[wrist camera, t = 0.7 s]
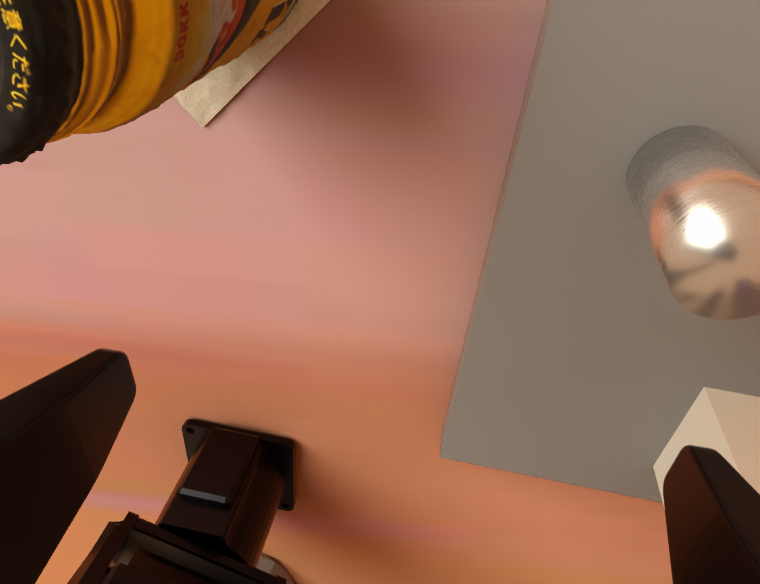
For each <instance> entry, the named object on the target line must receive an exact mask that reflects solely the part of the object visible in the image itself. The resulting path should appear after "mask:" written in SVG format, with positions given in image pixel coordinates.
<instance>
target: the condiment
mask: <svg viewBox="0 0 760 584" xmlns="http://www.w3.org/2000/svg"><path fill="white" fill-rule="evenodd" d="M329 1H330V0H0V165H1V164H10V163H13V162H15V161H18V162H23V161H25V160H26V159H27V157H28V156H29V155H30V154H32V153H35V151H43V148H44V146H45V144H46V143H50V142H54V141H57V140H60V139H63V138H66V137H68V136H70V135H72V134H89V133H99V132H105V131H109V130H111V129H114V128H116V127H118V126H121V125H125V124H127V123H129V122H132V121H134V120H136V119H137V118H139V117H140V116H142V115H144V114H146V113H148V112H149V111H151V110H154V109H156V108H158V107H159V106H160V105H161V104H162V103H164V102H165V101H167V100H168V99H169V98H171V97H173V96H174V97H175V98H176V99H177V100H178V101H179V103H180V104H181V106H182V107H183V108H184V109H185V110H186V111H187V112H188V113H189V114H190V115H191V116H192V117H193V118H194V119H195V120H196V121H197V122H198V123H199V124H200V125H201V127H202V128H203V127H204V126H205V125H206V124H207V123H208V122H209V121H210V120H211V119H212V118H213V117H214V116H215V115H216V114H217V113H218V112H219V111H220V110H221V109H222V108H223V107H224V106H225V105H226V104H227V103H228V102H229V101H230V100H231V99H232V98H233V97H234V96H235V95H236V94H237V93H238V92H239V91H240V90H241V89H242V87H243V86H245V85H246V84H247V83H248V82H249V81H250V80H251V79H252V78H253V77H254V76H255V75H256V74H257V73H258V72H259V71H260V70H261V69H262V68H263V67H264V66H265V65H266V64H267V63H268V62H269V61H270V60H271V59H272V58H273V57H274V56H275V55H276V54H277V53H278V52H279V51H280V50H281V49H282V48H283V47H284V46H285V45H286V44H287V43H288V42H289V41H290V40H291V39H292V38H293V37H294V36H295V35H296V34H297V33H298V32H299V31H300V30H301V29H302V28H303V27H304V26H305V25H306V24H307V23H308V22H309V21H310V20H311V19H312V18H313V17H314V16H315V15H316V14H317V13H318V12H319V11H320V10H321V9H322V8H323V7H324V6H325V5H326V4H327V3H328V2H329Z"/></svg>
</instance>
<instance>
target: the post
mask: <svg viewBox="0 0 760 584" xmlns="http://www.w3.org/2000/svg"><path fill="white" fill-rule="evenodd" d="M626 186H627V190H628V193H629V196H630V198H631V200H632V203H633V205H634V207H635V210H636V212H637V214H638V217H639V219H640V221H641V223H642V226H643V228H644V230H645V233H646V235H647V237H648V240H649V242H650V244H651V247H652V249H653V251H654V253H655V256H656V258H657V260H658V263H659V265H660V267H661V270H662V272H663V274H664V277H665V279H666V281H667V284H668V286H669V288H670V290H671V293H672V294H673V296H674V298H675V299H676V301H677V302H678V303H679V304H680V305H681V306H682V307H684V308H685V309H687V310H688V311H690V312H692V313H694V314H696V315H699V316H702V317H706V318H710V319H718V320H733V319H742V318H747V317H751V316H755V315H758V314H760V177H759V175H758V174H757V173H756V172H755V171H754V170H753V169H752V168H751V167H750V166H749V165H748V164H747V162H746V161H745V160H744V159H743V158H742V157H741V156H740V155H739V154H738V153H737V152H736V151H735V149H734V148H733V147H732V146H731V145H730V144H729V143H728V142H727V141H726V140H725V139H724V138H723V136H721V135H720V134H719V133H718V132H716V131H714V130H712V129H710V128H707V127H703V126H697V125H684V126H678V127H674V128H670V129H668V130H665V131H663V132H661V133H659V134H657V135H655V136H654V137H652V138H650V139H649V140H648V141H647V142H645V143H644V144H643V145H642V146H641V147H640V148H639V149H638V151H637V152H636V153H635V155H634V156H633V158H632V159H631V162H630V164H629V166H628V170H627V174H626Z"/></svg>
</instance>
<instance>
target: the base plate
mask: <svg viewBox="0 0 760 584" xmlns="http://www.w3.org/2000/svg"><path fill="white" fill-rule="evenodd" d="M684 125H697V126H703V127H707V128H710V129H712V130H714V131H716V132H718V133H719V134H720V135H721V136H723V138H724V139H725V140H726V141H727V142H728V143H729V144H730V145H731V146H732V147H733V148H734V149H735V151H736V152H737V153H738V154H739V155H740V156H741V157H742V158H743V159H744V160H745V161H746V162H747V164H748V165H749V166H750V167H751V168H752V169H753V170H754V171H755V172H756V173H757V174H758V175H759V177H760V0H548V3H547V8H546V12H545V16H544V20H543V24H542V28H541V32H540V36H539V40H538V44H537V48H536V52H535V56H534V60H533V65H532V69H531V73H530V77H529V81H528V85H527V89H526V93H525V97H524V101H523V105H522V109H521V113H520V117H519V121H518V126H517V130H516V134H515V138H514V142H513V146H512V150H511V154H510V158H509V162H508V166H507V170H506V174H505V178H504V183H503V187H502V191H501V195H500V199H499V203H498V207H497V211H496V215H495V219H494V223H493V227H492V231H491V235H490V240H489V244H488V248H487V252H486V256H485V260H484V264H483V268H482V272H481V276H480V280H479V284H478V288H477V292H476V296H475V301H474V305H473V309H472V313H471V317H470V321H469V325H468V329H467V333H466V337H465V341H464V345H463V349H462V353H461V358H460V362H459V366H458V370H457V374H456V378H455V382H454V386H453V390H452V394H451V398H450V402H449V406H448V410H447V415H446V419H445V423H444V427H443V431H442V437H441V446H440V456H439V457H441V458H446V459H450V460H455V461H460V462H465V463H470V464H475V465H480V466H485V467H490V468H495V469H500V470H504V471H509V472H514V473H519V474H524V475H529V476H534V477H539V478H544V479H549V480H554V481H558V482H563V483H568V484H573V485H578V486H583V487H588V488H593V489H598V490H603V491H608V492H612V493H617V494H622V495H627V496H632V497H637V498H642V499H647V500H652V501H657V502H661V503H663V502H662V498H661V494H660V490H659V487H658V483H657V479H656V476H655V472H654V468H653V466H654V464H655V463H656V461H657V459H658V458H659V456H660V455H661V453H662V452H663V450H664V448H665V447H666V445H667V444H668V442H669V441H670V439H671V438H672V436H673V434H674V433H675V431H676V430H677V428H678V427H679V425H680V423H681V422H682V420H683V419H684V417H685V416H686V414H687V413H688V411H689V409H690V408H691V406H692V405H693V403H694V402H695V400H696V398H697V397H698V395H699V394H700V392H701V391H702V389H703V388H704V387H708V388H713V389H719V390H724V391H730V392H735V393H741V394H746V395H751V396H757V397H760V314H758V315H755V316H751V317H747V318H742V319H733V320H718V319H710V318H706V317H702V316H699V315H696V314H694V313H692V312H690V311H688V310H687V309H685V308H684V307H682V306H681V305H680V304H679V303H678V302H677V301H676V299H675V298H674V296H673V294H672V293H671V290H670V288H669V286H668V284H667V281H666V279H665V277H664V274H663V272H662V270H661V267H660V265H659V263H658V260H657V258H656V256H655V253H654V251H653V249H652V247H651V244H650V242H649V240H648V237H647V235H646V233H645V230H644V228H643V226H642V223H641V221H640V219H639V217H638V214H637V212H636V210H635V207H634V205H633V203H632V200H631V198H630V196H629V193H628V190H627V186H626V174H627V170H628V166H629V164H630V162H631V159H632V158H633V156H634V155H635V153H636V152H637V151H638V149H639V148H640V147H641V146H642V145H643V144H644V143H645V142H647V141H648V140H649V139H650V138H652V137H654V136H655V135H657V134H659V133H661V132H663V131H665V130H668V129H670V128H674V127H678V126H684Z"/></svg>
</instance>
